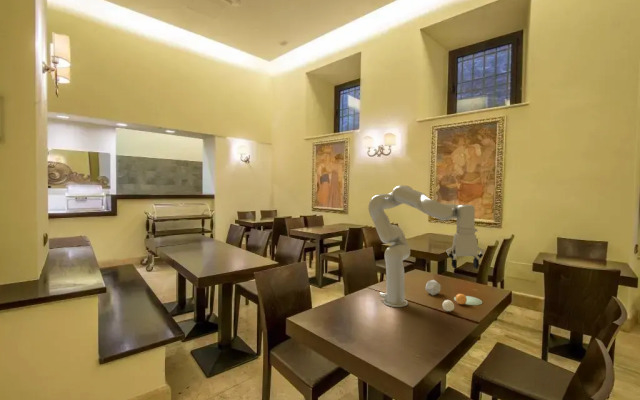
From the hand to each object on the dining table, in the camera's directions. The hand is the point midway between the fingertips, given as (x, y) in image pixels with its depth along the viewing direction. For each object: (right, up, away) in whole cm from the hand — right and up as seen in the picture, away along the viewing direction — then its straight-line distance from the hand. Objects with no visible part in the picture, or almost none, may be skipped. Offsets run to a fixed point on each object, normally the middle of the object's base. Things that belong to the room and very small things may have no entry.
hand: (465, 267), depth 140 cm
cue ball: (-3, -21, +11) cm, 24 cm away
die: (-1, -24, +36) cm, 44 cm away
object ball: (+7, -21, +20) cm, 30 cm away
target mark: (+14, -24, +25) cm, 37 cm away
